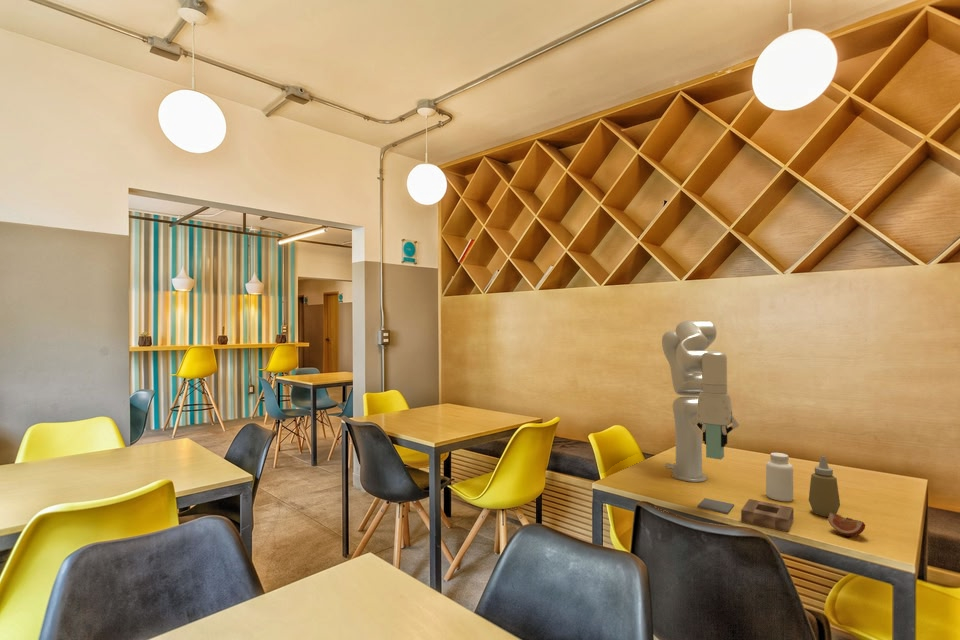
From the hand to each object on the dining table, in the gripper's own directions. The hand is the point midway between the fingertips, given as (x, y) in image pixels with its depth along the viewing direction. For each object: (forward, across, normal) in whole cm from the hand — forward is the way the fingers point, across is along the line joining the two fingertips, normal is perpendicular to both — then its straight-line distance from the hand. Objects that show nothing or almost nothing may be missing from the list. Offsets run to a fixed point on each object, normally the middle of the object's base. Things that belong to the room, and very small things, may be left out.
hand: (715, 444), depth 156 cm
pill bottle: (+21, +15, +23) cm, 34 cm away
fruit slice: (+21, +34, +1) cm, 40 cm away
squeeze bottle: (+21, +28, +15) cm, 38 cm away
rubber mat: (+20, 0, 0) cm, 20 cm away
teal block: (+4, 0, 0) cm, 4 cm away
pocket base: (+20, +15, -2) cm, 25 cm away
